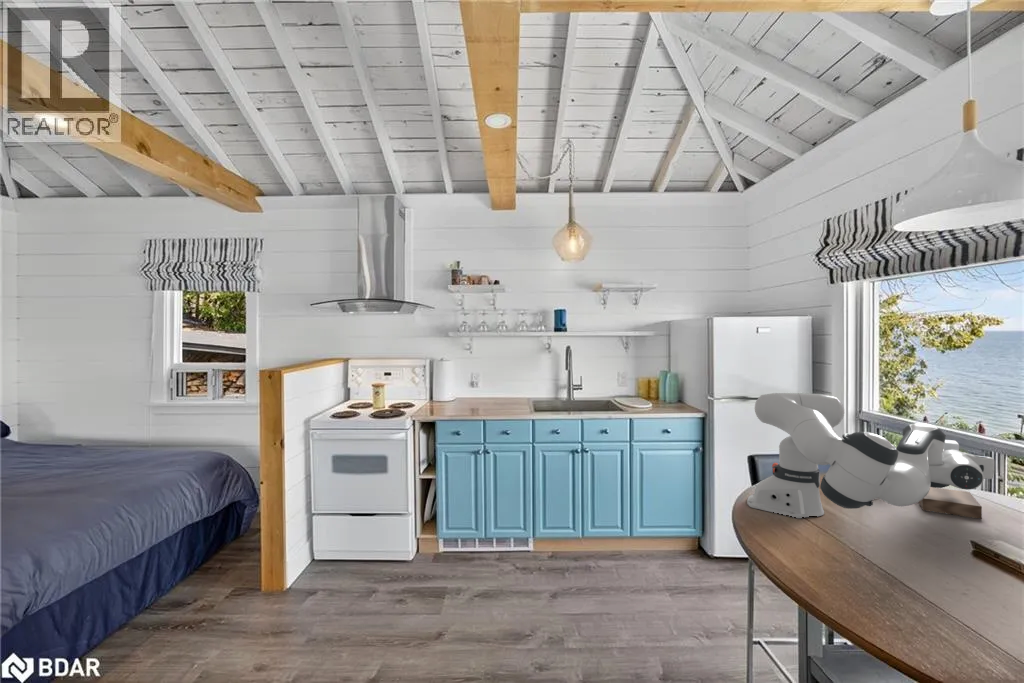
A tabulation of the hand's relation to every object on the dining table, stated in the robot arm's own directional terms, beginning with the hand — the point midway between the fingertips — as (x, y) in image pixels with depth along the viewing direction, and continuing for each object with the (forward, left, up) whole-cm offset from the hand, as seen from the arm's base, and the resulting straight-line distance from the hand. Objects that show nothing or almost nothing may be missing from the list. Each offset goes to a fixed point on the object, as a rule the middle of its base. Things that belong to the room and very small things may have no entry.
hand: (946, 455), depth 158 cm
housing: (0, -1, -7) cm, 7 cm away
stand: (0, -1, -17) cm, 17 cm away
